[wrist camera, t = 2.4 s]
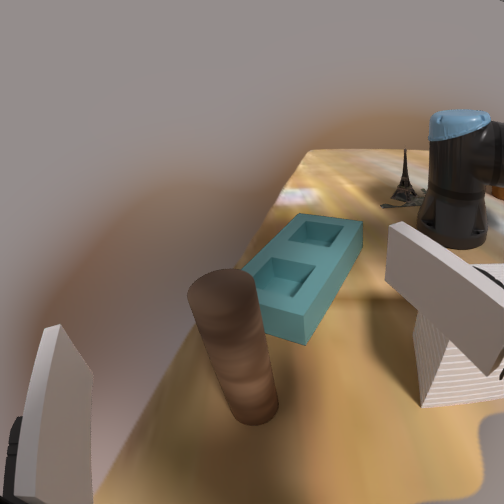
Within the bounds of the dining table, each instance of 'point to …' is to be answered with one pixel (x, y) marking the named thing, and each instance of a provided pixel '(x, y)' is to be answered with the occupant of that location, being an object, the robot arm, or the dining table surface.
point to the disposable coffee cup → (498, 192)
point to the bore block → (303, 273)
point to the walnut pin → (236, 342)
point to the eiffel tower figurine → (405, 190)
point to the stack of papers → (452, 365)
